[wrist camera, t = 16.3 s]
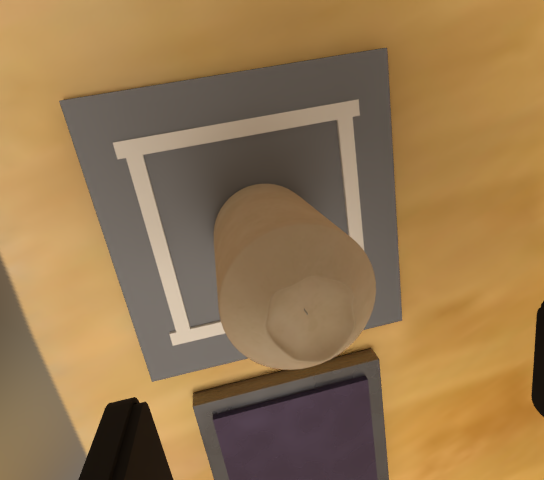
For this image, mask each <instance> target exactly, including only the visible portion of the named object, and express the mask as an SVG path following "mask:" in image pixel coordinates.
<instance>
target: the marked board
mask: <svg viewBox="0 0 544 480" xmlns="http://www.w3.org/2000/svg"><path fill="white" fill-rule="evenodd" d="M59 102H60V105H61V108H62V111H63V114H64V117H65V120H66V123H67V126H68V129H69V132H70V135H71V138H72V141H73V144H74V147H75V150H76V153H77V156H78V159H79V162H80V165H81V168H82V171H83V174H84V177H85V180H86V183H87V186H88V189H89V192H90V195H91V199H92V202H93V205H94V208H95V211H96V214H97V217H98V220H99V223H100V226H101V229H102V232H103V235H104V238H105V241H106V244H107V247H108V250H109V253H110V256H111V259H112V262H113V265H114V268H115V271H116V274H117V277H118V280H119V283H120V286H121V289H122V292H123V295H124V298H125V301H126V304H127V307H128V310H129V313H130V316H131V319H132V322H133V325H134V328H135V331H136V335H137V338H138V341H139V344H140V347H141V350H142V353H143V356H144V359H145V362H146V365H147V368H148V371H149V374H150V377H151V380H152V382H153V381H157V380H162V379H166V378H170V377H174V376H178V375H182V374H186V373H190V372H194V371H198V370H202V369H206V368H210V367H214V366H219V365H223V364H227V363H231V362H235V361H239V360H243V359H247V357H246V356H245V355H243V354H242V353H241V352H239V351H238V349H237V348H236V347H235V346H234V345H233V344H232V343H231V341H230V340H229V339H228V337H227V335H226V333H225V331H224V329H223V326H222V323H221V320H220V315H219V308H218V294H217V280H216V266H215V252H214V225H215V221H216V218H217V215H218V213H219V211H220V209H221V208H222V206H223V205H224V204H225V202H226V201H227V200H228V199H229V198H230V197H231V196H232V195H234V194H235V193H236V192H238V191H239V190H241V189H243V188H246V187H248V186H251V185H256V184H275V185H279V186H282V187H285V188H287V189H289V190H291V191H293V192H294V193H296V194H297V195H298V196H300V197H301V198H302V199H303V200H305V201H306V202H307V203H308V204H310V205H311V206H312V207H313V208H315V209H316V210H317V211H318V212H320V213H321V214H322V215H323V216H325V217H326V218H327V219H328V220H330V221H331V222H332V223H333V224H335V225H336V226H337V227H338V228H340V229H341V230H342V231H344V232H345V233H346V234H347V235H349V236H350V237H351V238H352V239H353V240H355V241H356V242H357V243H358V244H359V245H360V247H361V248H362V249H363V250H364V252H365V253H366V255H367V256H368V258H369V260H370V262H371V265H372V268H373V271H374V275H375V280H376V296H375V303H374V307H373V311H372V313H371V316H370V318H369V320H368V322H367V324H366V326H365V328H364V329H363V330H365V329H369V328H373V327H377V326H381V325H385V324H390V323H394V322H398V321H402V308H401V290H400V272H399V254H398V235H397V217H396V199H395V181H394V163H393V145H392V126H391V108H390V90H389V72H388V54H387V48H381V49H375V50H369V51H363V52H357V53H351V54H344V55H338V56H332V57H326V58H320V59H314V60H308V61H301V62H295V63H289V64H283V65H277V66H271V67H264V68H258V69H252V70H246V71H240V72H234V73H227V74H221V75H215V76H209V77H203V78H197V79H190V80H184V81H178V82H172V83H166V84H160V85H154V86H147V87H141V88H135V89H129V90H123V91H117V92H110V93H104V94H98V95H92V96H86V97H80V98H73V99H67V100H61V101H59Z"/></svg>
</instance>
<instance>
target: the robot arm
mask: <svg viewBox="0 0 544 480" xmlns="http://www.w3.org/2000/svg"><path fill="white" fill-rule="evenodd" d="M532 401H533V404H534V406H535V408H536V409H537V411H538V412H539V413H540V414H541V415H542V416H543V417H544V301H543V303H542V304H541V308H539V309H538V312H537V321H536V337H535V352H534V368H533V383H532ZM79 480H173V477H172V474H171V471H170V468H169V465H168V462H167V459H166V456H165V453H164V451H163V448H162V445H161V442H160V439H159V436H158V433H157V430H156V427H155V424H154V421H153V418H152V415H151V412H150V409H149V406H148V404H147V403H146V402H143V403H139V401H138V399H137V398H135V397H134V398H129V399H125V400H121V401H117V402H113V403H109V404H108V405H107V406H106V408H105V411H104V413H103V416H102V419H101V421H100V424H99V426H98V429H97V432H96V434H95V437H94V440H93V442H92V445H91V448H90V450H89V453H88V456H87V458H86V461H85V464H84V466H83V469H82V472H81V474H80V477H79Z"/></svg>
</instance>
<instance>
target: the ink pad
mask: <svg viewBox="0 0 544 480" xmlns="http://www.w3.org/2000/svg"><path fill="white" fill-rule="evenodd" d="M193 409H194V412H195V416H196V419H197V423H198V426H199V429H200V433H201V436H202V440H203V443H204V446H205V450H206V453H207V457H208V460H209V463H210V467H211V470H212V473H213V477H214V480H389V475H388V462H387V450H386V438H385V426H384V414H383V401H382V389H381V377H380V365H379V358H378V357H377V356H376V354H375V353H374V351H373V350H372V349H367V350H363V351H359V352H355V353H351V354H347V355H343V356H339V357H335V358H332V359H330V360H328V361H326V362H324V363H321V364H319V365H316V366H312V367H308V368H303V369H295V370H283V371H279V372H275V373H271V374H267V375H263V376H259V377H255V378H251V379H248V380H244V381H240V382H236V383H232V384H228V385H224V386H220V387H216V388H212V389H208V390H204V391H200V392H196V393H193Z"/></svg>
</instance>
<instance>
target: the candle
mask: <svg viewBox="0 0 544 480" xmlns="http://www.w3.org/2000/svg"><path fill="white" fill-rule="evenodd" d="M214 252H215V266H216V280H217V294H218V308H219V315H220V320H221V323H222V326H223V329H224V331H225V333H226V335H227V337H228V339H229V340H230V341H231V343H232V344H233V345H234V346H235V347H236V348H237V349H238V351H239V352H241V353H242V354H243V355H245V356H246V357H247V358H249V359H251V360H252V361H254V362H256V363H258V364H261V365H263V366H267V367H270V368H275V369H282V370H295V369H303V368H308V367H312V366H316V365H319V364H321V363H324V362H326V361H328V360H330V359H332V358H334V357H335V356H337V355H339V354H340V353H341V352H343V351H344V350H345V349H347V348H348V347H349V346H350V345H351V344H352V343H353V342H354V341H355V340H356V339H357V337H358V336H359V335H360V334H361V332H362V331H363V329H364V328H365V326H366V324H367V322H368V320H369V318H370V316H371V313H372V311H373V307H374V303H375V296H376V280H375V275H374V271H373V268H372V265H371V262H370V260H369V258H368V256H367V255H366V253H365V252H364V250H363V249H362V248H361V247H360V245H359V244H358V243H357V242H356V241H355V240H353V239H352V238H351V237H350V236H349V235H347V234H346V233H345V232H344V231H342V230H341V229H340V228H338V227H337V226H336V225H335V224H333V223H332V222H331V221H330V220H328V219H327V218H326V217H325V216H323V215H322V214H321V213H320V212H318V211H317V210H316V209H315V208H313V207H312V206H311V205H310V204H308V203H307V202H306V201H305V200H303V199H302V198H301V197H300V196H298V195H297V194H296V193H294V192H293V191H291V190H289V189H287V188H285V187H282V186H279V185H275V184H256V185H251V186H248V187H246V188H243V189H241V190H239V191H238V192H236V193H235V194H234V195H232V196H231V197H230V198H229V199H228V200H227V201H226V202H225V204H224V205H223V206H222V208H221V209H220V211H219V213H218V215H217V218H216V221H215V225H214Z"/></svg>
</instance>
